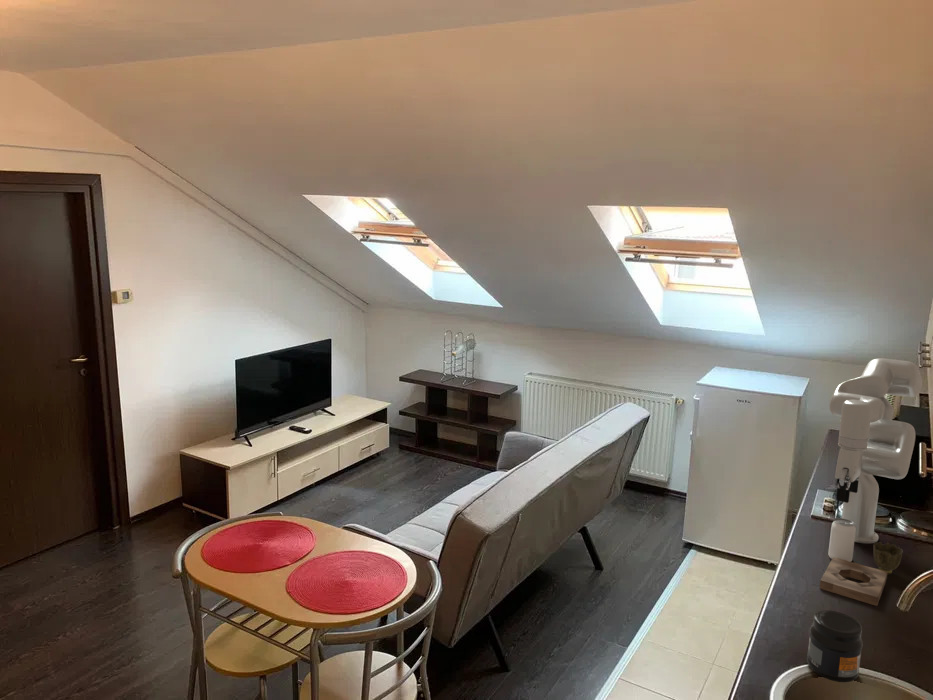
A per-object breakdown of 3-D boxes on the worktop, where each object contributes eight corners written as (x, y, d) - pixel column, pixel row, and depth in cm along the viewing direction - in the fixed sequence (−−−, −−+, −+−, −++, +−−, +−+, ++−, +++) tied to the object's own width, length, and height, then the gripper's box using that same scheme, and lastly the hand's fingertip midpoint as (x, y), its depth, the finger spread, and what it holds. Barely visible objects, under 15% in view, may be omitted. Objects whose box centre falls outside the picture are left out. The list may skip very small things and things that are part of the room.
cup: (874, 576, 194) (877, 550, 193) (867, 564, 201) (870, 540, 200) (903, 580, 192) (907, 554, 191) (894, 568, 199) (898, 543, 198)
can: (855, 564, 201) (859, 527, 199) (832, 562, 202) (836, 525, 200) (847, 554, 207) (852, 518, 205) (825, 552, 209) (829, 516, 207)
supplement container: (869, 682, 147) (876, 632, 145) (827, 687, 146) (833, 637, 143) (835, 653, 158) (841, 606, 156) (795, 657, 156) (801, 610, 154)
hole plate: (832, 564, 201) (833, 557, 200) (886, 580, 192) (887, 572, 192) (819, 588, 187) (820, 580, 187) (877, 606, 178) (878, 597, 178)
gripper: (846, 432, 205) (840, 484, 208) (830, 446, 193) (824, 501, 196) (874, 437, 200) (868, 491, 203) (859, 452, 188) (853, 509, 191)
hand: (846, 496), depth 200 cm, fingers open, 9 cm apart
